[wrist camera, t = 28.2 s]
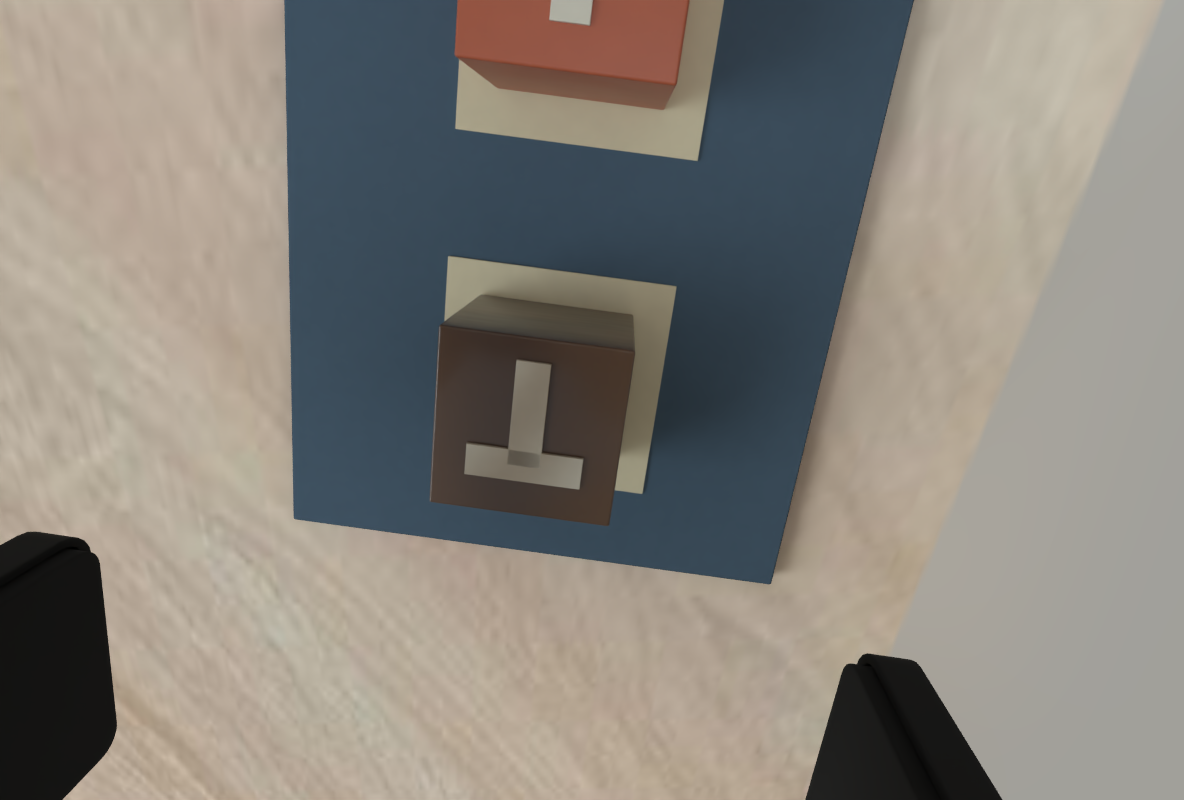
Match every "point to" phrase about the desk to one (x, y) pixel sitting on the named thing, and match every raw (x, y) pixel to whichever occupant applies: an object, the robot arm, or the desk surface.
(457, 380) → the wooden letter block
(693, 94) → the mat
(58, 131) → the desk surface
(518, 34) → the rust brown block
